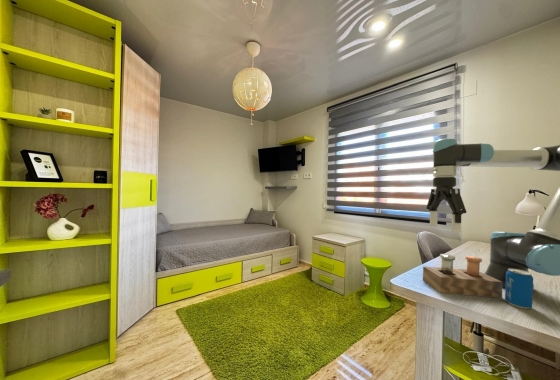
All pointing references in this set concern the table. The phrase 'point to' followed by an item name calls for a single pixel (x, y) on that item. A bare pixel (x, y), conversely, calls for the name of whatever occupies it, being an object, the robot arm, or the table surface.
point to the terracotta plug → (473, 265)
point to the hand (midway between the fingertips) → (443, 228)
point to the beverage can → (519, 288)
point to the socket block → (462, 282)
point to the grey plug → (447, 264)
